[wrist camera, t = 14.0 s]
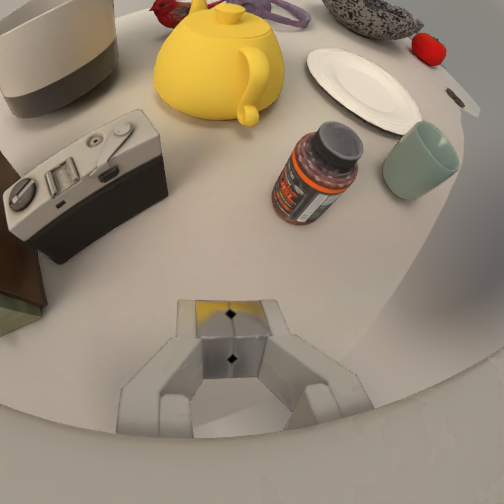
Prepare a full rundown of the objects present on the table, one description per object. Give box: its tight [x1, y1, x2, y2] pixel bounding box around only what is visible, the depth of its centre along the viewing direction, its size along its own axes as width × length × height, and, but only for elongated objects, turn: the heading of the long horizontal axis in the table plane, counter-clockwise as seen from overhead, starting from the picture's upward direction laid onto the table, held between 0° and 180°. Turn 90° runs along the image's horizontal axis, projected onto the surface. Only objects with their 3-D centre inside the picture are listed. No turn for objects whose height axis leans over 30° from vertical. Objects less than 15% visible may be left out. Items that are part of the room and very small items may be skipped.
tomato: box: [412, 33, 446, 66], centre depth 55 cm, size 12×13×12 cm
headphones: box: [225, 0, 311, 28], centre depth 43 cm, size 18×8×20 cm
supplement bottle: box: [272, 122, 363, 225], centre depth 24 cm, size 6×6×11 cm
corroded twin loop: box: [447, 88, 465, 107], centre depth 55 cm, size 5×8×1 cm, turn 44°
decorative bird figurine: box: [149, 0, 225, 29], centre depth 34 cm, size 3×18×10 cm, turn 137°
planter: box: [0, 0, 119, 118], centre depth 21 cm, size 19×19×18 cm
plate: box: [307, 48, 422, 135], centre depth 40 cm, size 25×25×2 cm
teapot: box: [154, 0, 284, 127], centre depth 27 cm, size 25×18×14 cm
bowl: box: [322, 0, 424, 40], centre depth 48 cm, size 31×31×15 cm
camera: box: [3, 110, 168, 264], centre depth 21 cm, size 14×8×10 cm, turn 127°
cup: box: [382, 121, 459, 200], centre depth 30 cm, size 8×8×10 cm
